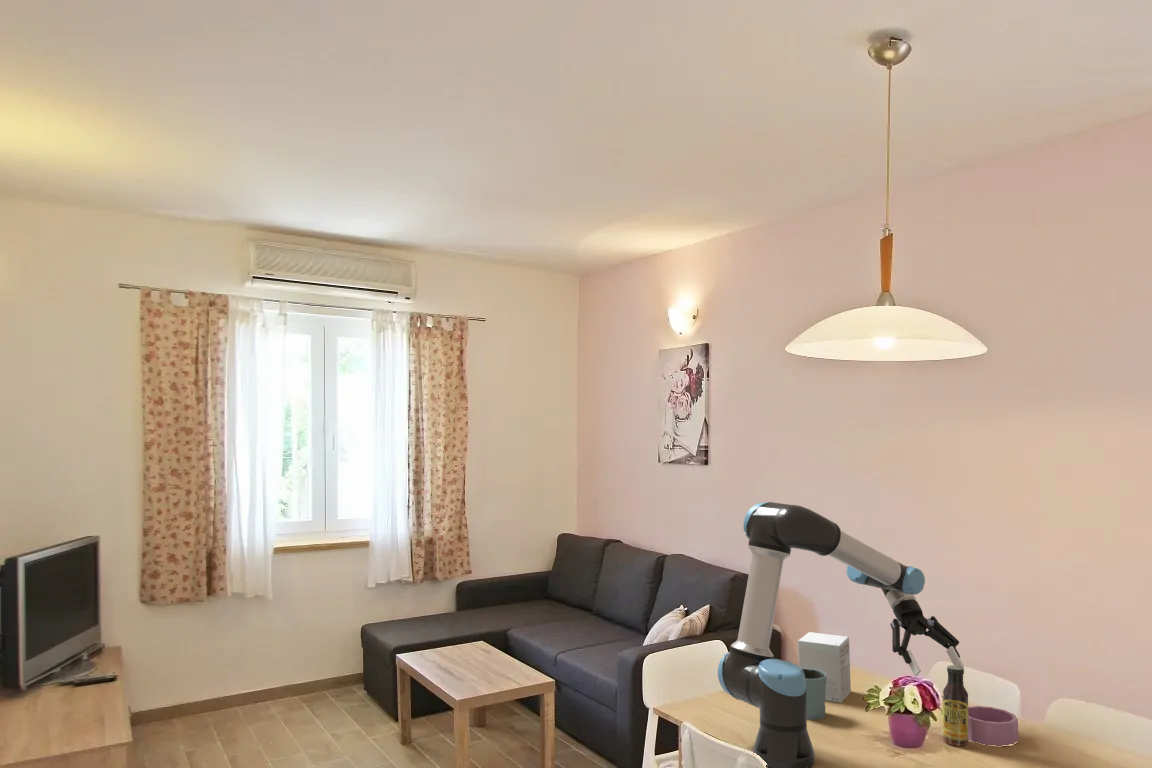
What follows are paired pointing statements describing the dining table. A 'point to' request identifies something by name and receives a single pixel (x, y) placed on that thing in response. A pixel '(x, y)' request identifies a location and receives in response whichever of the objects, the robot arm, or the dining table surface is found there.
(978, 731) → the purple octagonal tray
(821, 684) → the teal cup
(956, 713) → the sauce bottle
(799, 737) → the robot arm
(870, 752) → the dining table surface
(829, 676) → the supplement box
